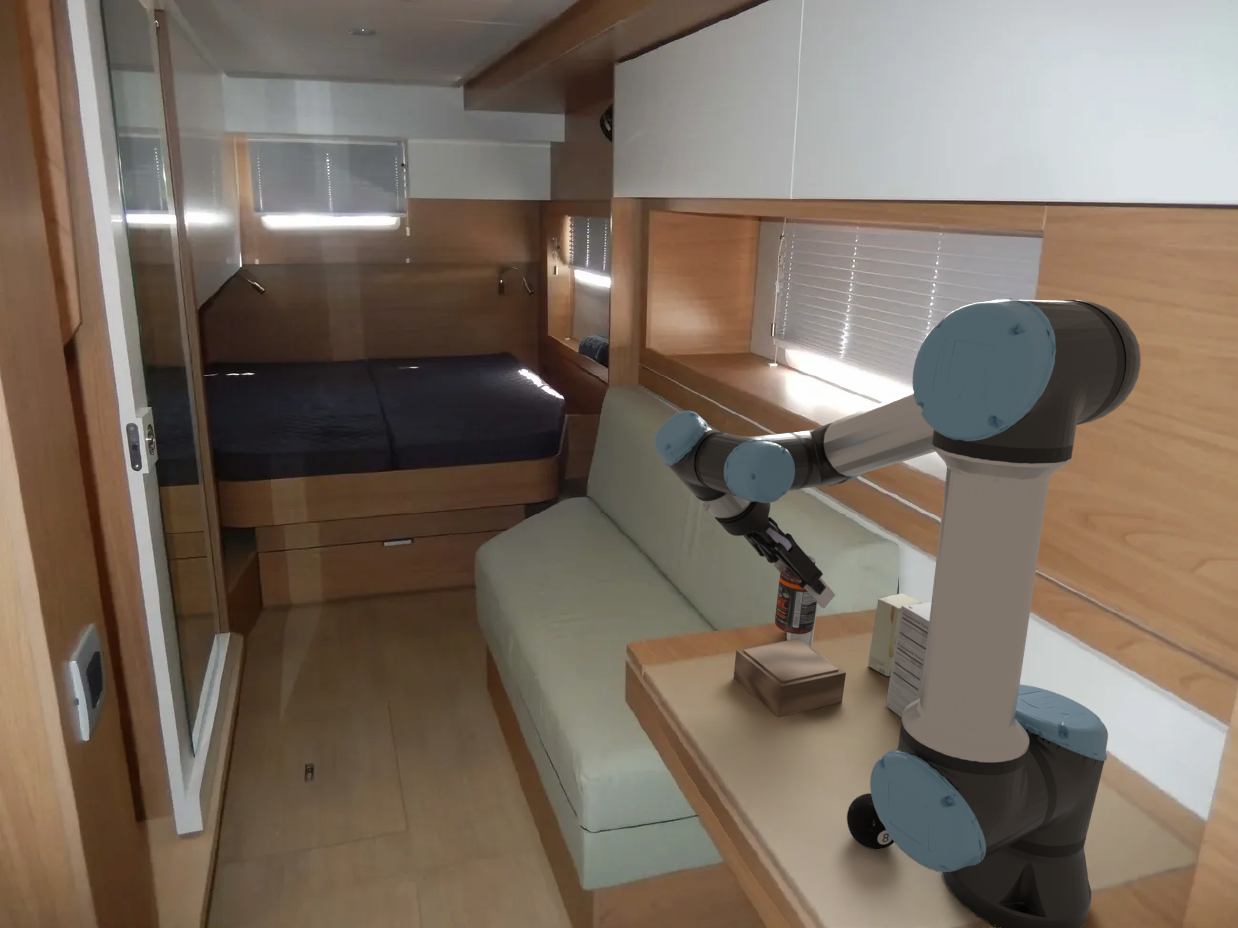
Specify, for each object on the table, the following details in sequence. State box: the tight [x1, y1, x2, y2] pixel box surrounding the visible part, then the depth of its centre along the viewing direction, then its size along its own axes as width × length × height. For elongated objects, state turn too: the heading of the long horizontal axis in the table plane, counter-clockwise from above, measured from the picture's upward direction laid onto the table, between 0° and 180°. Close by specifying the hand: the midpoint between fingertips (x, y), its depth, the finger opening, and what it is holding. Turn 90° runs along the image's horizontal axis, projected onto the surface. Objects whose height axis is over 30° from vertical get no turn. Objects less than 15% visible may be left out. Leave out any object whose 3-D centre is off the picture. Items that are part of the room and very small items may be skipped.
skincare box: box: [867, 592, 923, 677], centre depth 147 cm, size 6×4×12 cm
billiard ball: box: [846, 792, 895, 851], centre depth 105 cm, size 6×6×6 cm
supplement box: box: [885, 601, 932, 719], centre depth 132 cm, size 10×9×17 cm
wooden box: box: [733, 639, 847, 717], centre depth 138 cm, size 12×12×5 cm
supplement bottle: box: [774, 554, 818, 634], centre depth 135 cm, size 6×6×11 cm
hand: (814, 592), depth 136 cm, fingers closed on supplement bottle, 6 cm apart
